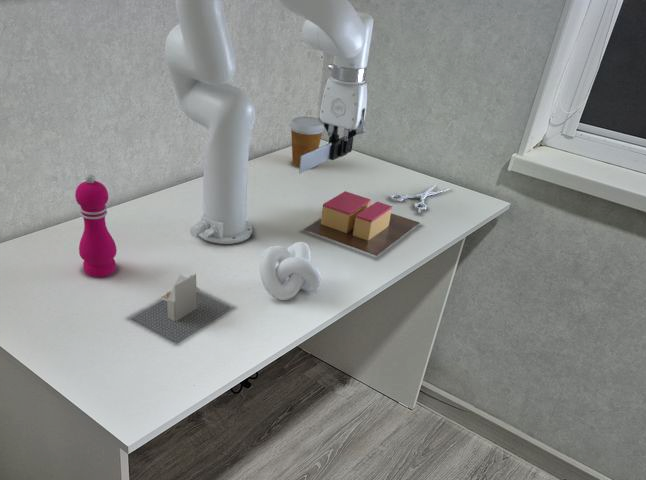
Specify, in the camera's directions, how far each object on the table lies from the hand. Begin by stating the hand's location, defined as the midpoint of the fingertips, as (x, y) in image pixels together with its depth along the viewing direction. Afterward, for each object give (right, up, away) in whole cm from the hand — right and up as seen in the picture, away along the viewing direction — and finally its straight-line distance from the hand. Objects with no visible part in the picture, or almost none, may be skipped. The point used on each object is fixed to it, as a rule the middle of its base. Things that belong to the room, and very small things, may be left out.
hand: (337, 153), depth 156 cm
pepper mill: (-51, -32, -27) cm, 66 cm away
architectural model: (-33, -41, -38) cm, 65 cm away
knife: (-4, -3, -4) cm, 6 cm away
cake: (+1, -18, -5) cm, 18 cm away
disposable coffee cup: (-7, +5, +26) cm, 27 cm away
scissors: (+24, -8, +11) cm, 27 cm away
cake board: (+5, -20, -6) cm, 21 cm away
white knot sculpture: (-14, -36, -30) cm, 49 cm away
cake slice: (+7, -20, -8) cm, 23 cm away
